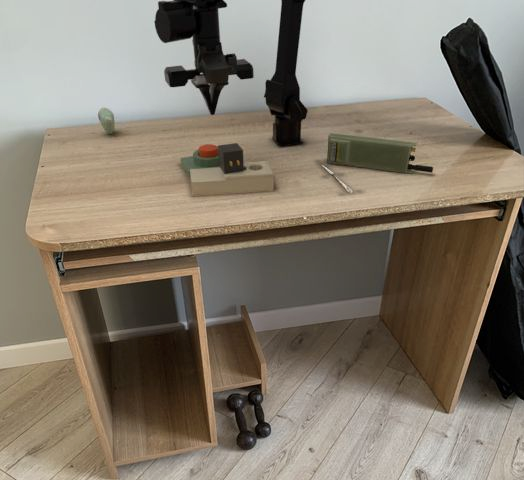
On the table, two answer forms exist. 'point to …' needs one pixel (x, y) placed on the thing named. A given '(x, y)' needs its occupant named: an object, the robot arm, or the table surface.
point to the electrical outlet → (232, 179)
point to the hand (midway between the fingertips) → (212, 114)
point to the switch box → (198, 162)
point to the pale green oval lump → (107, 120)
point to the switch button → (208, 151)
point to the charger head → (230, 158)
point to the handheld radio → (372, 153)
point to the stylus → (339, 180)
